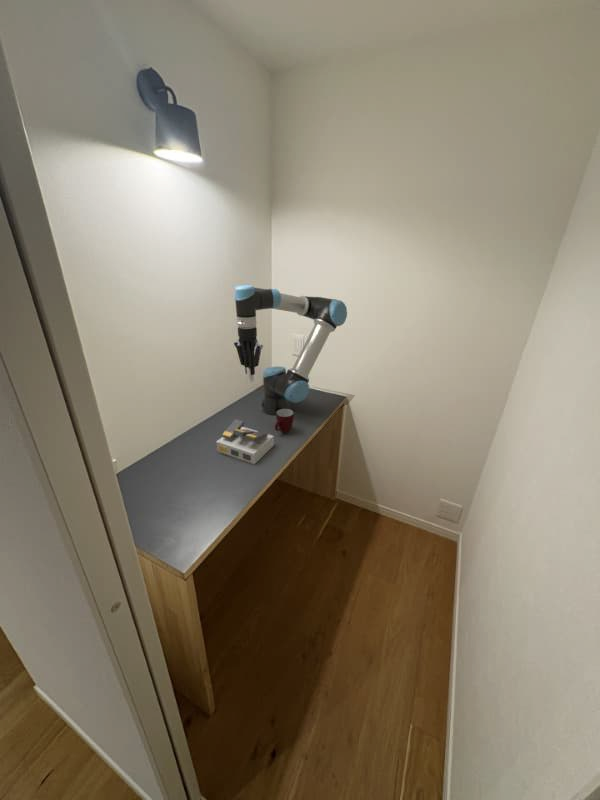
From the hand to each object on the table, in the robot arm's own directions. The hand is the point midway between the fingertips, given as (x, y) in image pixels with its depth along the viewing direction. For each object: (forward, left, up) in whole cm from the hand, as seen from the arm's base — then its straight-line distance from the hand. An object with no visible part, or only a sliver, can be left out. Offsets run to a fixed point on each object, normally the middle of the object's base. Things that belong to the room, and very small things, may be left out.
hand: (250, 381), depth 136 cm
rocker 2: (+12, +4, -18) cm, 22 cm away
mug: (-7, +12, -27) cm, 30 cm away
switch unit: (+12, +4, -26) cm, 29 cm away
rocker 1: (+12, -2, -18) cm, 22 cm away
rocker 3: (+12, +10, -18) cm, 24 cm away
